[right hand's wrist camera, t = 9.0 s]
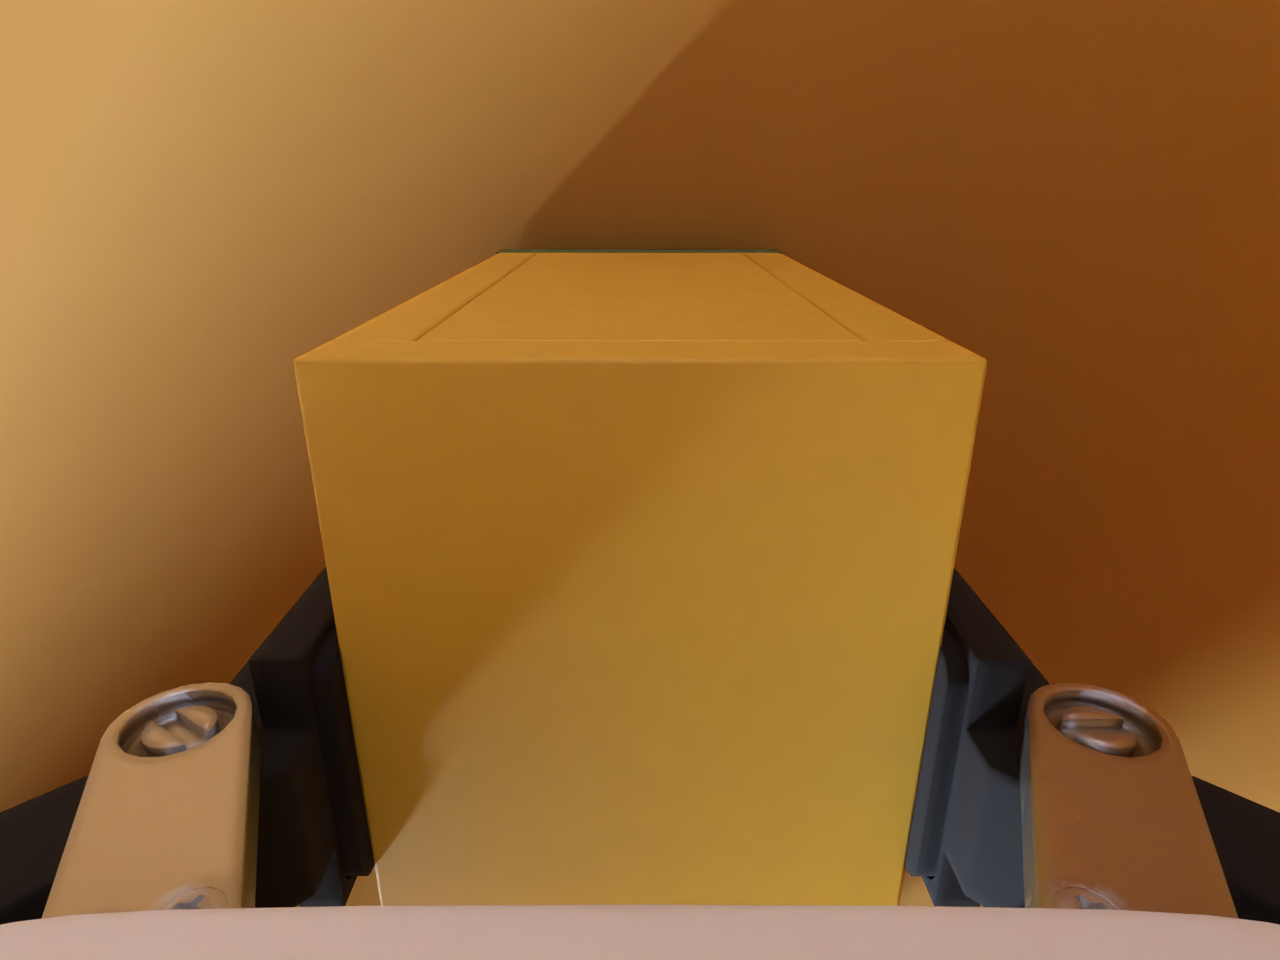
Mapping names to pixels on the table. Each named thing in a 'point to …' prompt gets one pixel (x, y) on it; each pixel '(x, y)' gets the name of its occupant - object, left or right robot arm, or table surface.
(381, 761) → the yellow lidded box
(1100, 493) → the table surface
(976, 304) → the table surface
